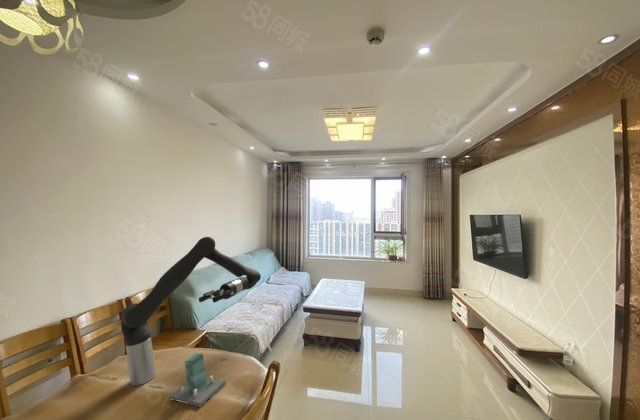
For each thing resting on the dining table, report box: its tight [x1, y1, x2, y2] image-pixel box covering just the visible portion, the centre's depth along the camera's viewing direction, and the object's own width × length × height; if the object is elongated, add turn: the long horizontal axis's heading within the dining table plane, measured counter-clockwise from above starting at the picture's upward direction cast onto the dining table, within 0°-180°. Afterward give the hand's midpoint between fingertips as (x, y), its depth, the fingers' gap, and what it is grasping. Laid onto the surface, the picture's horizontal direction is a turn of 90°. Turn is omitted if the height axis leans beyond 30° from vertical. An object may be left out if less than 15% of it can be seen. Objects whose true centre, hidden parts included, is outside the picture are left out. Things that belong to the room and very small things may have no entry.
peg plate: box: [169, 375, 227, 407], centre depth 98 cm, size 16×12×4 cm
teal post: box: [184, 352, 207, 393], centre depth 98 cm, size 4×5×12 cm
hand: (206, 300), depth 115 cm, fingers open, 8 cm apart
